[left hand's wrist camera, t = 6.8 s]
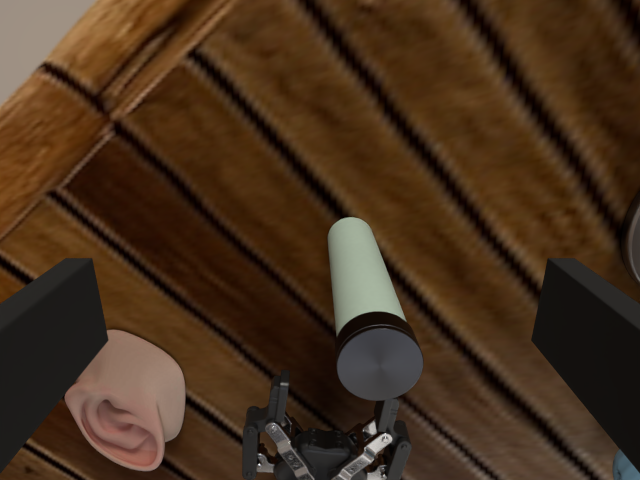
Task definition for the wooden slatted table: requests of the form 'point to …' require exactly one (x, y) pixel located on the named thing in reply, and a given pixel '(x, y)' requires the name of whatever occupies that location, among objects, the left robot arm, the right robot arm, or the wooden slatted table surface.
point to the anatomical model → (129, 401)
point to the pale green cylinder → (358, 273)
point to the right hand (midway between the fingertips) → (336, 381)
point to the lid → (378, 356)
